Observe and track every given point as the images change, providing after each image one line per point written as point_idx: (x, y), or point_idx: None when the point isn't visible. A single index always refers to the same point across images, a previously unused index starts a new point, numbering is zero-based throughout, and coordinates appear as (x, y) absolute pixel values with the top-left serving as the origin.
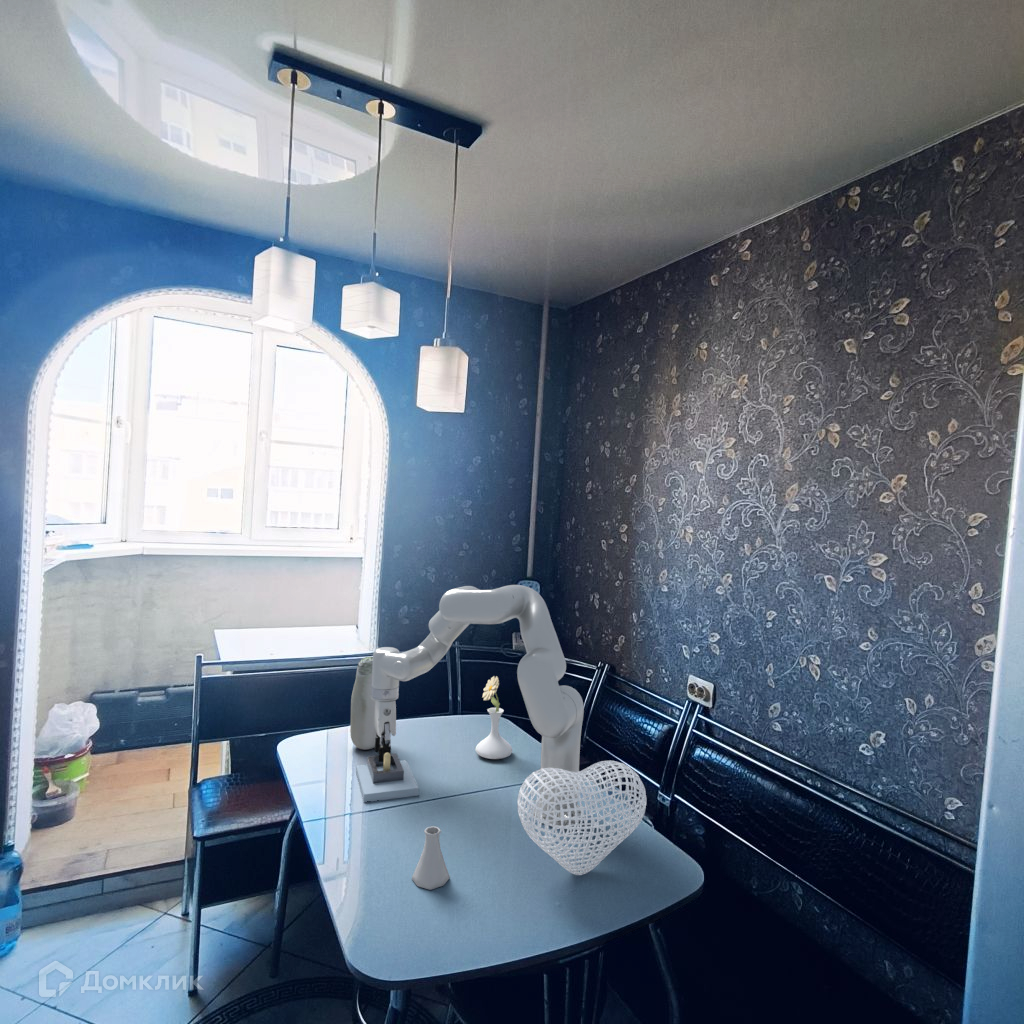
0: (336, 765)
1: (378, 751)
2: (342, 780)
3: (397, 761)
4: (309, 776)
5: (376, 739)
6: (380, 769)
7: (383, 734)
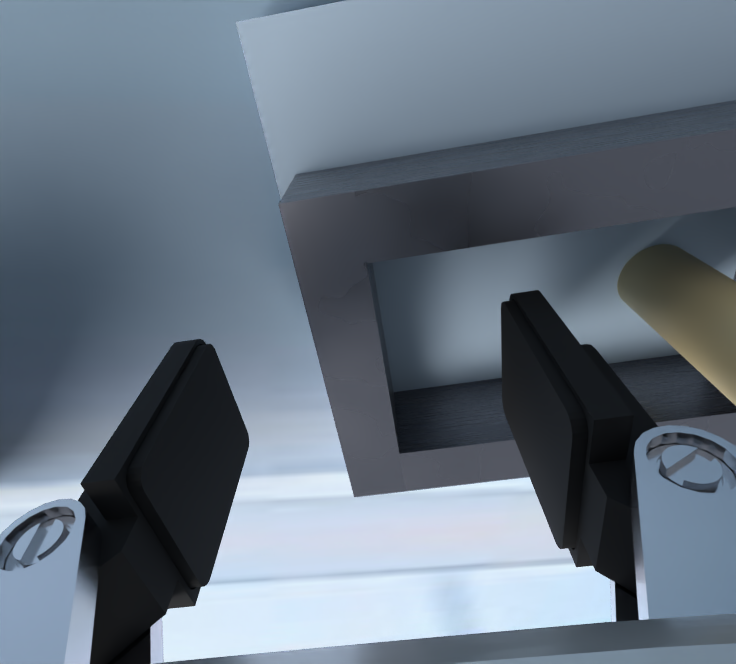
0: (238, 545)
1: (239, 418)
2: (464, 508)
3: (593, 186)
4: (381, 622)
5: (207, 582)
6: (474, 331)
7: (102, 580)
